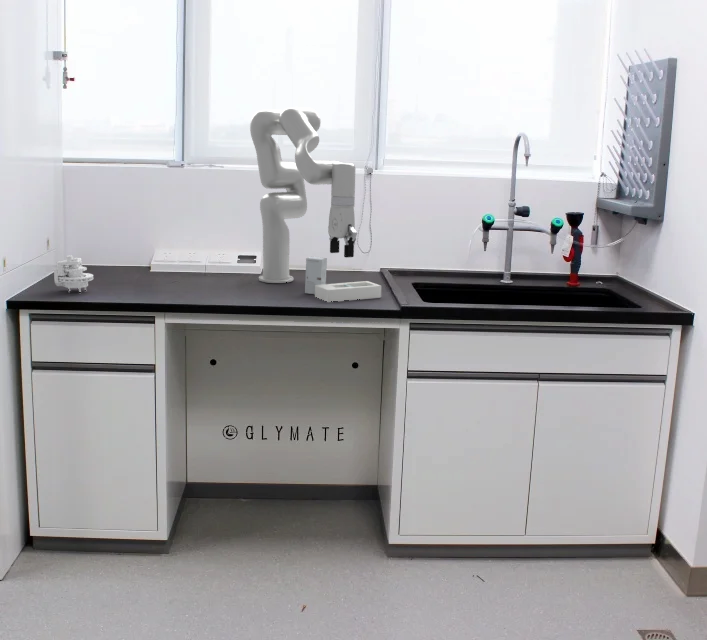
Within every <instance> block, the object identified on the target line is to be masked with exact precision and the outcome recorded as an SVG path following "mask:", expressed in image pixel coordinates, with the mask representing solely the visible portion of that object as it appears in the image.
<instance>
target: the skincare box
mask: <svg viewBox="0 0 707 640" xmlns="http://www.w3.org/2000/svg"><path fill="white" fill-rule="evenodd" d="M305 260H306V261H305V281H304V285H305V286H304V293H305V294H310V295H315V285H323V284H327V265H328V264H327V263H328V258H327V257H319V256H308V257H307V258H305Z"/></svg>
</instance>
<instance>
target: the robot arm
mask: <svg viewBox="0 0 707 640" xmlns="http://www.w3.org/2000/svg"><path fill="white" fill-rule="evenodd" d="M321 122H322V121H321V117H320V115H319V113H318V112H317V111H316V109H313V108H311V107H298V106H295V107H287V108H284V109H283V110H282V109H262V110H258V111H256V112H255V113H253V115H252V117H251V120H250V124H249V130H250V137H251V140H252V143H253V145H254V149H255V152H256V160H257V161H256V162H257V166H258V172H259V178H260V183H261V185H262V187H263V188H266V189H269V190H282V189H283V190H284V189H285V190H286V191H285V192H284V191H277V192H276V191H275V192H269V193H266V194H264V195H263V196H262V197H261V199H260V202H259V210H260V214H261V215H260V216H261V222H262V275H259V276H258V281H259V282H261V283H267V284H287V283H291V282H293V281H294V276H292V275H290V230H289V227H288V225H287V222H286V221H285V220H289V219H300V218H303V217H304V216H305V214H306V213H307V211H308V200H307V199H308V198H307V192H306V191H307V190H306V186H305V185H306V183H308V184H310V185H313V186H314V185H315V186H317V185H318V186H319V185H331V190H330V192H331V195H330V196H331V199H330V200H331V201H330V210H329V214H328V215H329V216H328V227H327V228H328V229H327V230H328V235H329V242H330V243H329V253H330V254H338V253H340V240H339V239H343V240H344V243H345V244H344V245H343V246H344V247H343V251H344V252H343V256H344V258H346V259H347V258H353V257H354V256H355V255H354V253H355V245H356V240H357V235H358V233H357V231H356V228H355V227H356V223H355V221H356V220H355V210H354V208H355V205H356V203H355V202H356V200H355V198H356V197H355V196H356V194H355V193H356V165H355V164H354V163H351V162H341V161H337V160H315V159H313V158H312V156H311V155H310V154H311V153H312V152H313V151H315V149H316V148H317V147H318V146H319V143H320V136H319V134H318V133H317V132H318V131H319V129H320V128H321ZM273 135H276V136H277V135H278V136H287V137H288V139H290V142H291V143H292V144H293V146H294V147H295V148H296V149H295V152H294V162H293V161H284V160H282V159H283V158H282V154H281V149H280V146H279V144H278V143H277V141H276V140H275V139H274V137H272V136H273ZM305 181H306V183H305ZM286 282H287V283H286Z"/></svg>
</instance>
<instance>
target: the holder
mask: <svg viewBox="0 0 707 640" xmlns="http://www.w3.org/2000/svg"><path fill="white" fill-rule="evenodd" d="M314 297H315V298H316V297H317V298H316V299H318V298H319V299H318V300H321V299H322V301H323V300H324V302H325V301H327V302H326V303H334V302H333V301H338V302H345V301H344V300H349V301H356V300H357V299H358V300H357V301H359V299H360V300H369V299H379V298H380V299H381V298H382V285H380V284H377V283H376V282H375V283H374V282H371V281H369V280H365V281H363V280H362V281H354V282H353V281H351V282H350V281H349V282H337V283H326V284H323V285H315V294H314ZM331 301H332V302H331Z"/></svg>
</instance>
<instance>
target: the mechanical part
mask: <svg viewBox="0 0 707 640" xmlns="http://www.w3.org/2000/svg"><path fill="white" fill-rule="evenodd" d="M82 261H83V260H82V257H74V256H73V254H68V255H66V259H63V260H60V261H59V260H58V261H57V262H56V268H53V276H54V277H53V279H54V284H55V285H56V287H64V288H67V290H68V289H69V291H71V289H77V288H78V289H79V290H78V293H79V292H81V293H82V290H81V289H82V288H83V289H84V290H86V291H87V287H88V286H89V282H91V281H93V280H94V274H93V273H89V272H87V273H86V271H87V269H88V267H87V266H83V264H82ZM69 291H68V292H69ZM71 292H72V291H71Z"/></svg>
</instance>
